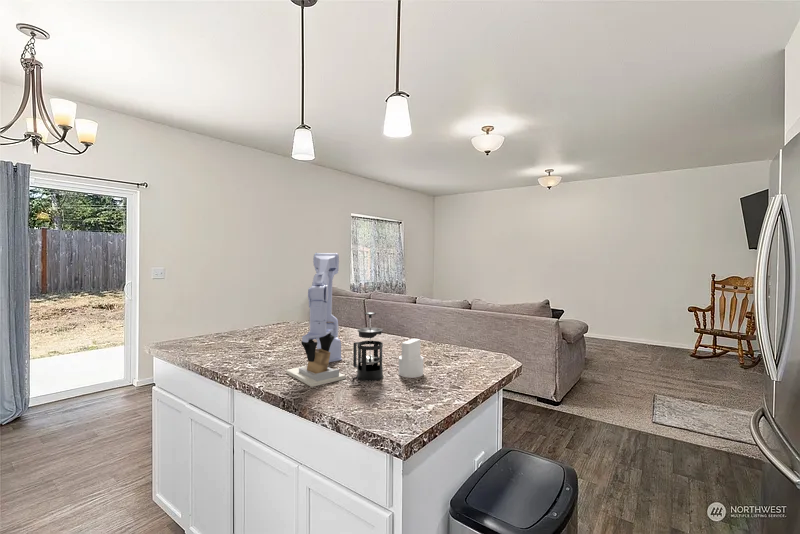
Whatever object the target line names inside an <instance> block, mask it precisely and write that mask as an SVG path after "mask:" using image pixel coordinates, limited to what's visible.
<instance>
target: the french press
mask: <svg viewBox="0 0 800 534" xmlns="http://www.w3.org/2000/svg"><path fill="white" fill-rule="evenodd" d="M364 315H368V319H369V327H361V328H358V329H357V332H358V337H360V338H363V339H369V340H362V341H354V342H353V346H352V349H353V350H352V351H353V352H352V354H353V356H352V357H353V360H352V363H353V365H352V366H353V368H356V369H357V370H356V371H357V373H356V379H357V380H359V381H363V382H376V381H380V380H382V379H383V378H384V374H383V373H384V371H383V370H384V369H383V368H384V367H383V346H384V343H383V342H382V341H380V340H372V339H373V338H375V337H376V336H377V335H382V333H383V331H384V329H383V328H379V327H375V326H373V327H372V326H371V325H372V324H371V323H372V316H373V315H377V313H376V312H374V311H367V312H364ZM367 351H369V355H367ZM372 351H373V355H372V354H371V352H372Z"/></svg>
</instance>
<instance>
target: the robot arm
mask: <svg viewBox="0 0 800 534" xmlns="http://www.w3.org/2000/svg"><path fill="white" fill-rule="evenodd" d="M312 262H313V266H314V270H315V274H314V275H313V278H312V283H311V285H310V286H311V287H308V291H307V298H308V299H307V301H308V308H309V331H308V332H307V333H306V334H304V335H302V336H301V339H302V340H301V341H300V344H301V345H302V347H303V349H304V350H305V351H304V352H305V354H306V357H307V362H308V361H310V362H314V359H315V350H316V349H323V350H325V351H328V352H331V353H330V358H329V363H332V362H338V361H342V360H343V358H342V342H341V339H340V338H339V337H338V336H339V319H338V318H337V317H336V316H334V314H333V311H332V310H333V279H334V278H335V275H337V274H339V266H340V256H339V253H338V252H315V253H314V254H313V261H312ZM314 340H316V341H314Z"/></svg>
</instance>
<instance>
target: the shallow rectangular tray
mask: <svg viewBox="0 0 800 534" xmlns="http://www.w3.org/2000/svg"><path fill="white" fill-rule="evenodd" d="M307 366H308V365H304V366H299V367H293V368H290V369H289V368H288V369H286V371H285V372H286V374H287V375H289V376H291V377H293V378H294V379H296V380H298V381H299V382H302V383H303V384H305V385H307V386H309V387H310V388H313V387H317V386H321V385H325V384H329V383H334V382H338V381H342V380H344V379H346V374H343V373H341V372H340V369H339V368H335V369H333V368H331V367H329V366H328V368H327V371H325V372H321V373H313V372H311V371H308V370H307Z"/></svg>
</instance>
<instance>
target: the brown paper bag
mask: <svg viewBox="0 0 800 534" xmlns="http://www.w3.org/2000/svg"><path fill="white" fill-rule="evenodd" d="M330 353H331V352H328V351H325V350H323V349H317V348H316V350H315V359H314V362H310V361H308V360H307V365H306V366H307V370H308V371H311V372H313V373H321V372H325V371H327V368H328V367H329V364H330V362H329V358H330Z"/></svg>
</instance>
